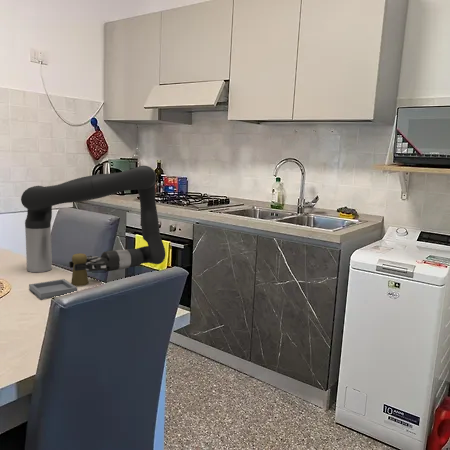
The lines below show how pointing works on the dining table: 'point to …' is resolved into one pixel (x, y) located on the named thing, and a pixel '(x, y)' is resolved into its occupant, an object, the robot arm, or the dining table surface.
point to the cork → (81, 275)
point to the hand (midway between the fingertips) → (72, 266)
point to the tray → (52, 288)
